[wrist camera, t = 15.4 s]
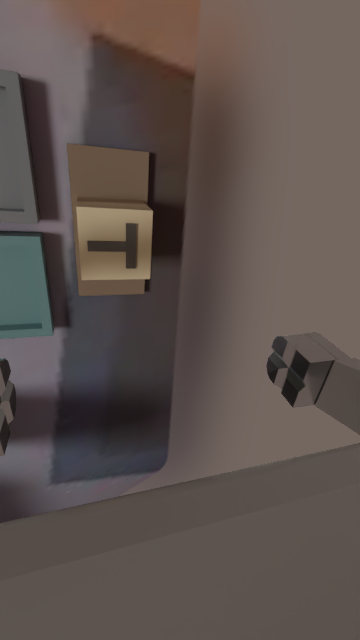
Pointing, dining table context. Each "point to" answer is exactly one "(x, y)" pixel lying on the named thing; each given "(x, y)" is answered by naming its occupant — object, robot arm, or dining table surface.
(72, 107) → the dining table surface
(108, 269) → the letter cube
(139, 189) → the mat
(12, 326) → the teal bin
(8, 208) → the gray bin
